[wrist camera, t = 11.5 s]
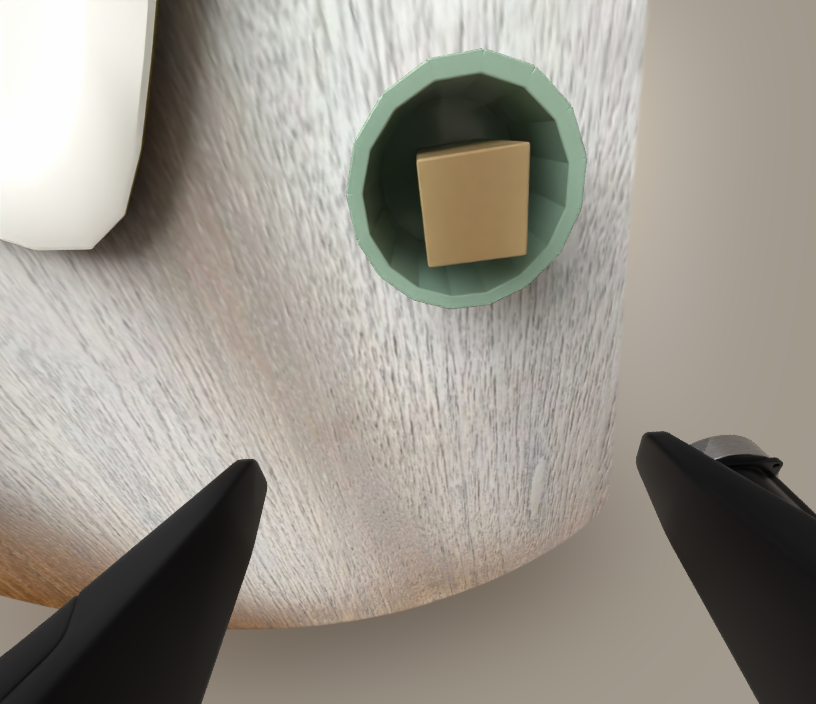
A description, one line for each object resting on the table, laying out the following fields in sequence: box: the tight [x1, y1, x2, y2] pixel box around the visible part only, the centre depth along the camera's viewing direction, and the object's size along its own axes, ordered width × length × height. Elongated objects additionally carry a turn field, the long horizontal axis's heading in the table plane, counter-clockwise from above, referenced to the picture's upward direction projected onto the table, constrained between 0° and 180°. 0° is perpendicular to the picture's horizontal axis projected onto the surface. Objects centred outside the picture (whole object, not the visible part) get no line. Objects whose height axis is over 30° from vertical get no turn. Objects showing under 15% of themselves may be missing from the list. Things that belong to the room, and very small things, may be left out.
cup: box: [346, 49, 587, 309], centre depth 14 cm, size 7×7×7 cm
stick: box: [416, 138, 530, 267], centre depth 13 cm, size 3×3×8 cm
